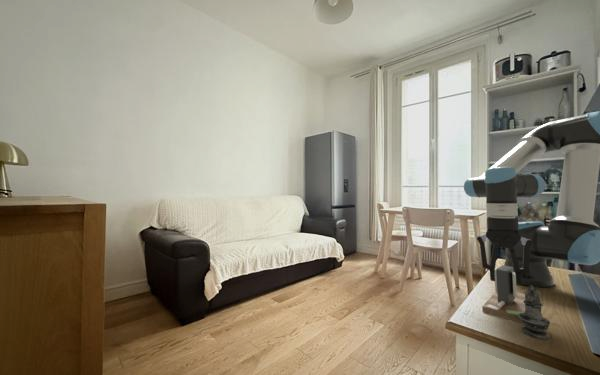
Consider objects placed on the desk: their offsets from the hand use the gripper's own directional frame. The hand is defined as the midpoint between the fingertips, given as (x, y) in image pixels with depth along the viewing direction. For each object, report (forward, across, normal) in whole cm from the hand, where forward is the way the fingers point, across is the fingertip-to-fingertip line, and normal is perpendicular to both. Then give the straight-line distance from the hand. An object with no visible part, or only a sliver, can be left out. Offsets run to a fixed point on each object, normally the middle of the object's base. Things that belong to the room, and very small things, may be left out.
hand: (505, 293), depth 75 cm
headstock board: (+4, +1, +2) cm, 5 cm away
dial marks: (+3, 0, -6) cm, 7 cm away
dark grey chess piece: (+5, +5, -13) cm, 15 cm away
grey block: (+3, 0, -1) cm, 3 cm away
